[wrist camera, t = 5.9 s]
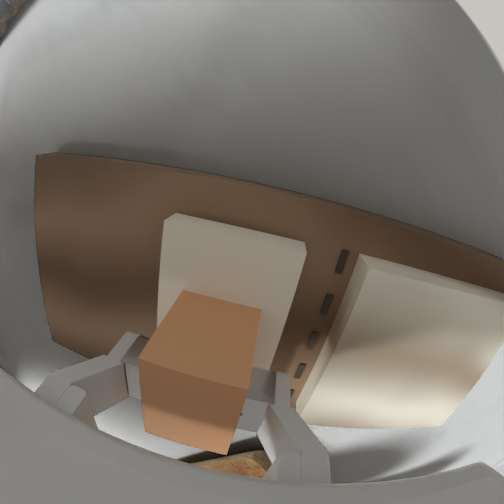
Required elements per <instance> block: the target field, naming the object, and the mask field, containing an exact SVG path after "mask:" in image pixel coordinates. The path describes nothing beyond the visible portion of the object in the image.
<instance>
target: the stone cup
mask: <svg viewBox="0 0 504 504" xmlns="http://www.w3.org/2000/svg"><path fill="white" fill-rule="evenodd" d="M189 464H193V465H197V466H201V467H205V468H209V469H213V470H217V471H222V472H227V473H232V474H237V475H242V476H248V477H255V478H263V476H264V475H265V474H266V472H267V471H268V469H269V468H270V466H271V465H272V463H271V461H270V459H269V457H268V455H267V453H266V451H262V450H257V451H250V452H244V453H240V454H235V455H230V456H226V457H221V458H216V459H210V460H206V461H200V462H194V463H189Z"/></svg>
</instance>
